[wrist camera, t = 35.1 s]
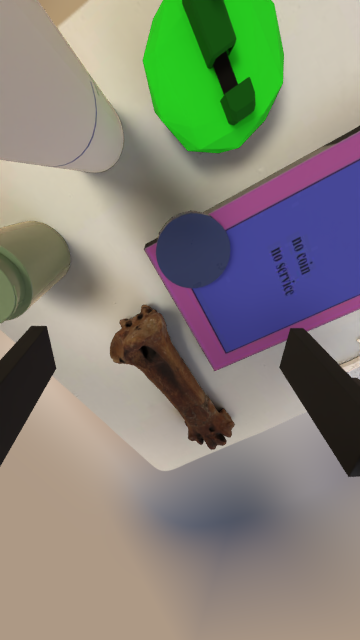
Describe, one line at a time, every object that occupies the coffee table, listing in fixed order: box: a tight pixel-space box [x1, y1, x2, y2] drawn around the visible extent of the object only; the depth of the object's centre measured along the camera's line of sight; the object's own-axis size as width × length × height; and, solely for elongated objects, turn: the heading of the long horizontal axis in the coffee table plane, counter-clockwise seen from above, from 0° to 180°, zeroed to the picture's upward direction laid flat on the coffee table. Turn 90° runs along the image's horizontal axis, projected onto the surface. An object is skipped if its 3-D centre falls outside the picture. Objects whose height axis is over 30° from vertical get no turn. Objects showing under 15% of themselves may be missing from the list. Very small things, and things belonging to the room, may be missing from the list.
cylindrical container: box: [0, 0, 124, 173], centre depth 17 cm, size 7×7×25 cm
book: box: [144, 126, 360, 371], centre depth 34 cm, size 21×3×30 cm
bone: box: [110, 305, 235, 450], centre depth 41 cm, size 9×8×30 cm
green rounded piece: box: [143, 0, 284, 153], centre depth 22 cm, size 12×12×11 cm
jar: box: [0, 221, 70, 323], centre depth 28 cm, size 8×8×13 cm
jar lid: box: [156, 210, 230, 288], centre depth 30 cm, size 8×8×2 cm
